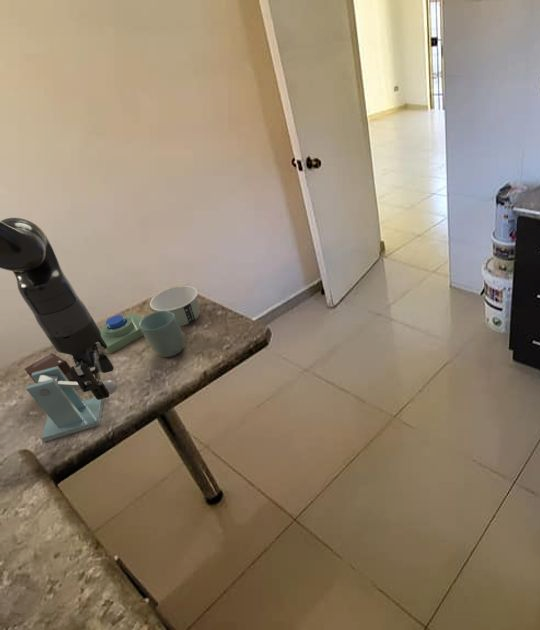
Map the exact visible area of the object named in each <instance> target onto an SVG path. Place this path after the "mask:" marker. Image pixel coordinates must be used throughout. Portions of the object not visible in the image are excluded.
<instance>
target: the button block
mask: <svg viewBox="0 0 540 630" xmlns="http://www.w3.org/2000/svg"><path fill="white" fill-rule="evenodd" d="M122 316H123V317H124V319H125V321H126V324H125V325H124V326H122V327H120V328H117V329H109V327H108V326H107V324H106V322H105V323H104V324H103V325H102V326H101V329H99V330H100V332H101V337H102V339H103V340H104V342H105V343H106V345H107V349H105V350H106V351H107V353H108V355H111V354H113V353H114V352H116V351H118V350H120V349H121V348H123V347H125V346H127V345H128V344H130V343H132V342H134V341H135V340H137V339H139V338H141V337H144V335H143V334H142V332H141V330H140V328H139V323H140V321H141V320H142V319H143V318H144V317H142V316H141V315H138V314H137V313H135V312H131V313H129V314H127V315H122ZM96 343H99V342H96ZM99 344H100V343H99Z"/></svg>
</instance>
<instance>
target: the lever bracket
mask: <svg viewBox="0 0 540 630" xmlns="http://www.w3.org/2000/svg"><path fill="white" fill-rule="evenodd" d="M40 375H48V376H58V381H69V380H68V379H67V378H66V376H65V375H64V374H63V372H62V371H61V369H60V368H59V367H58V366H56V367H52V368H49V369H45V370H41V371H37V372H34V373H32V375H31V376H32V377H33V379H34V380H35V381H36V382H37V383H33V384H29V385H27V386H26V388H25V390H26V391H27V392H28V393H29V395H30V396H31V398H33V400H34V401H35V402H36V403H37V404H38V405H39V407H40V408H41V409H42V410H43V412H44V413H45V414H46V415H47V416H46V417H47V418H46V421H45V423H44V427H43V430H42V434H41V437H40V439H41V440H42V442H43V443H46V442H49V441H52V440H56V439H59V438H62V437H65V436H68V435H71V434H76V433H78V432H81V431H84V430H88V429H91V428H95V427H97V426H100V425H101V421H102V414H103V410H104V404H105V398H104V399H101V400H98V399H96V397H93V398H89V399H85V400H84V399H83V398H82V397H81V395H80V394H79V393H78V391H77V389H70V388H61V387H60V386H59V385H58V383H57V382H56V381H55V379H51V380H47V381H44V382H40V383H38V380H39V377H40ZM33 379H32V380H33ZM34 380H33V381H34Z"/></svg>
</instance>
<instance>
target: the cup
mask: <svg viewBox="0 0 540 630" xmlns="http://www.w3.org/2000/svg"><path fill="white" fill-rule="evenodd" d="M142 318H143V319H142V320H141V321H140V323H139V328H140V330H141V332H142V334H143V338H144V339H145V341H146V343H147V344H148V346H149V348H150V349H151V350H152V351H153V352H154V353H155V354H156V355H157V356H160V357H163V358H171V357H175V356H176V355H178V354H179V353H181V352H182V351H183V349H184V348H185V345H186V339H185V334H184V332H183V329H182V326H180V325H179V323H178V320H177V318H176V316H175V315H174V314H173V313H172V312H170V311H158V312H156V311H154V312H152V313H149V314H148V315H146V316H144V317H142Z"/></svg>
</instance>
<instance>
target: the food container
mask: <svg viewBox="0 0 540 630" xmlns="http://www.w3.org/2000/svg"><path fill="white" fill-rule="evenodd" d="M198 294H199V292H198V290H197V288H196V287H193V286H191V285H178V286H173V287H169V288H166V289H164V290H162V291H160V292H159V293H156V294H155V295H154V296H153V297H152V298H151V299H150V301H149V307H150V308H151V309H152V311H154V312H158V311H170V312H172V313H173V314H174V315H175V316H176V318H177V320H178V323H179V325H180V327H183V326H187V325H188V324H189V325H190V324H191V323H193V322H195V320H197V319H198V318H199V316H200V315H199V314H201V309H200V305H199V300H198V299H199V298H198Z"/></svg>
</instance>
